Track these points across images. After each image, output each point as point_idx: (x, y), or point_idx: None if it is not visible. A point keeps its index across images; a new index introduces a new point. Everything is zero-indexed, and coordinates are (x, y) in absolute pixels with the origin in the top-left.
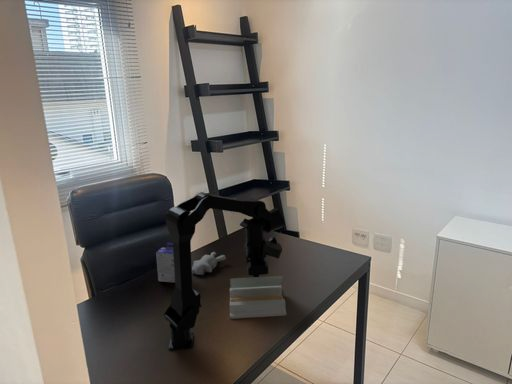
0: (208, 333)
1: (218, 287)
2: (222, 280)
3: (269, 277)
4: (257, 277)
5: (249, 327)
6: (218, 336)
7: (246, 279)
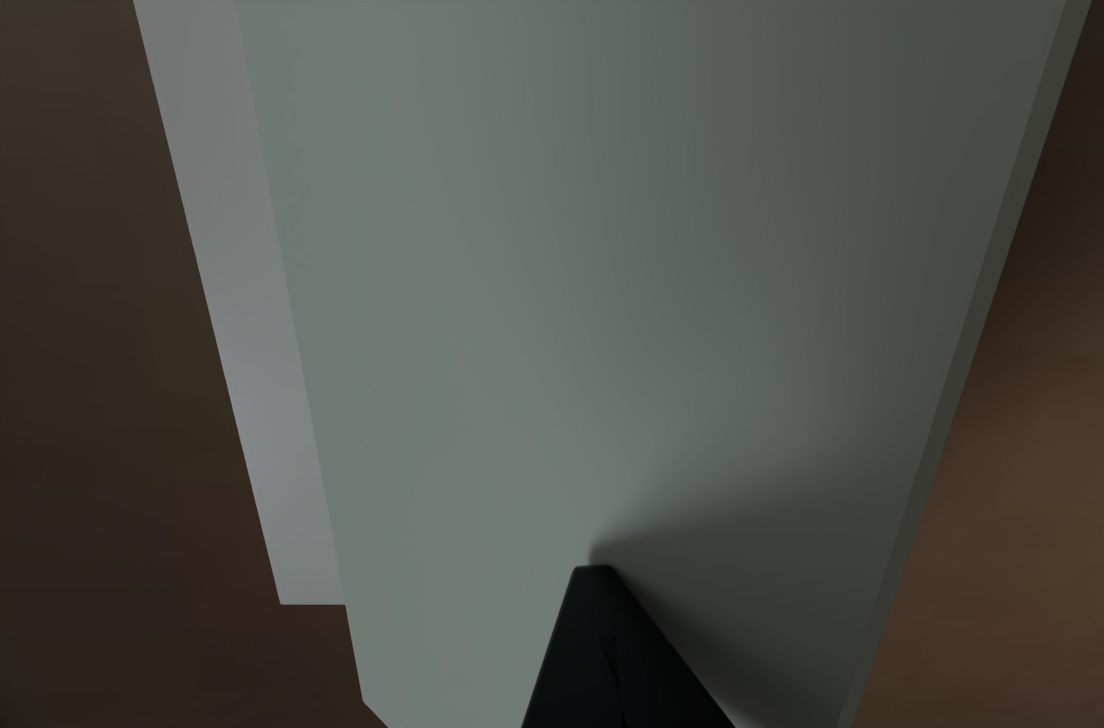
0: (965, 712)
1: (196, 671)
2: (30, 643)
3: (953, 374)
4: (837, 715)
5: (1034, 417)
6: (1041, 653)
7: None
